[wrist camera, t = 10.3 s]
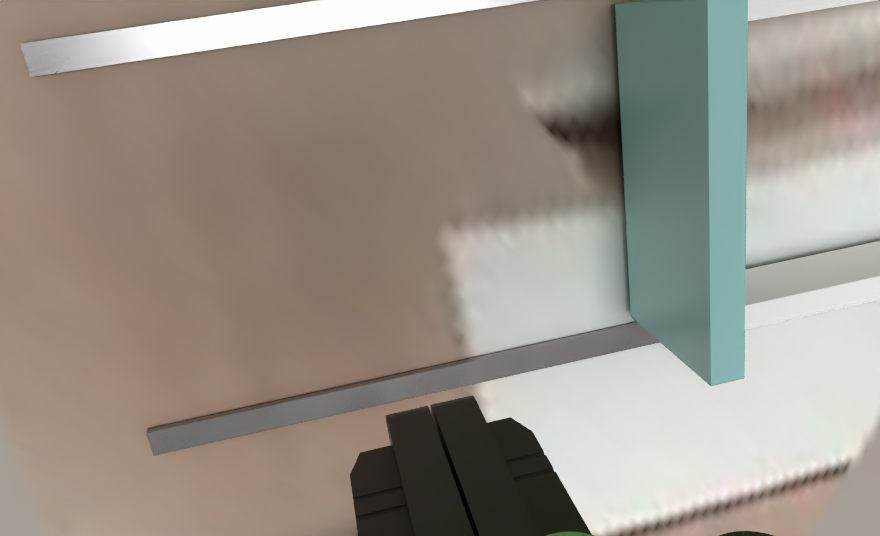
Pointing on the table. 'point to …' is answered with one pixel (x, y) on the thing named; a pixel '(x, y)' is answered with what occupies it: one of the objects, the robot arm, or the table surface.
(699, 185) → the cart
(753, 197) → the table surface
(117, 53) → the rails
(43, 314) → the table surface
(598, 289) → the table surface
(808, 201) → the table surface
